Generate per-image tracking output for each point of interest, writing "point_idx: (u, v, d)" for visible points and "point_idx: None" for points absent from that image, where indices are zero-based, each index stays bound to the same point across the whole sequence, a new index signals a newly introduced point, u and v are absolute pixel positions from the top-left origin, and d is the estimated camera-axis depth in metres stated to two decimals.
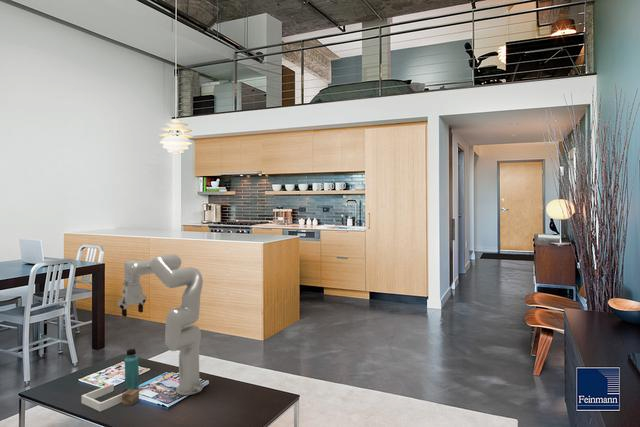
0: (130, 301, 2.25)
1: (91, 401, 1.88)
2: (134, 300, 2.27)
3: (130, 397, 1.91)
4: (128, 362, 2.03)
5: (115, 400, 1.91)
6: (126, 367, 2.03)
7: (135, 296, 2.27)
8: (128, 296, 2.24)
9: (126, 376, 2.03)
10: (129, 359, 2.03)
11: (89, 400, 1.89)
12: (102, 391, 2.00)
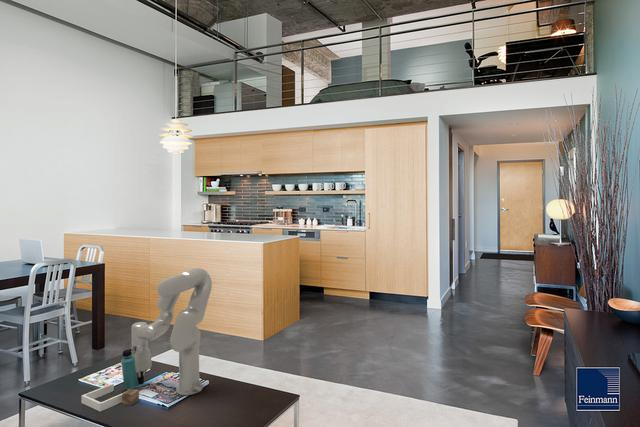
0: (138, 368, 2.06)
1: (91, 401, 1.88)
2: (142, 366, 2.08)
3: (130, 397, 1.91)
4: (125, 363, 2.01)
5: (115, 400, 1.91)
6: (123, 368, 2.02)
7: (143, 362, 2.08)
8: (135, 363, 2.05)
9: (124, 377, 2.03)
10: (125, 360, 2.02)
11: (89, 400, 1.89)
12: (102, 391, 2.00)
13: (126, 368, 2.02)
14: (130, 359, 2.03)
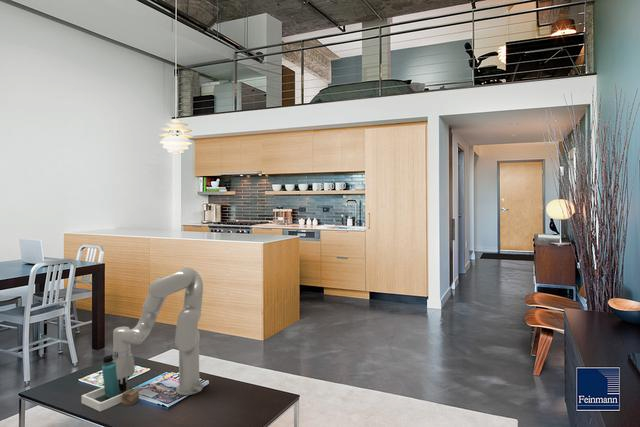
0: (119, 375, 1.98)
1: (91, 401, 1.88)
2: (124, 373, 2.00)
3: (130, 397, 1.91)
4: (105, 370, 1.93)
5: (115, 400, 1.91)
6: (104, 375, 1.94)
7: (125, 368, 2.00)
8: (117, 370, 1.97)
9: (105, 384, 1.95)
10: (106, 367, 1.94)
11: (89, 400, 1.89)
12: (102, 391, 2.00)
13: (106, 375, 1.94)
14: (111, 366, 1.95)
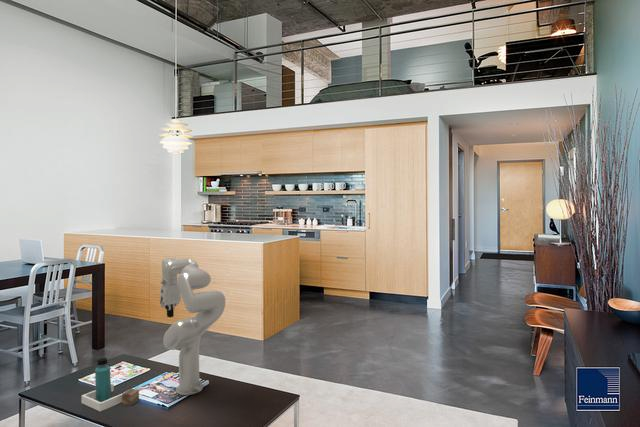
0: (168, 301, 2.16)
1: (91, 401, 1.88)
2: (172, 300, 2.18)
3: (129, 397, 1.91)
4: (98, 372, 1.91)
5: (115, 400, 1.91)
6: (96, 377, 1.91)
7: (173, 296, 2.18)
8: (166, 296, 2.15)
9: (96, 387, 1.91)
10: (99, 369, 1.91)
11: (89, 400, 1.89)
12: None
13: (99, 378, 1.91)
14: (104, 368, 1.92)
